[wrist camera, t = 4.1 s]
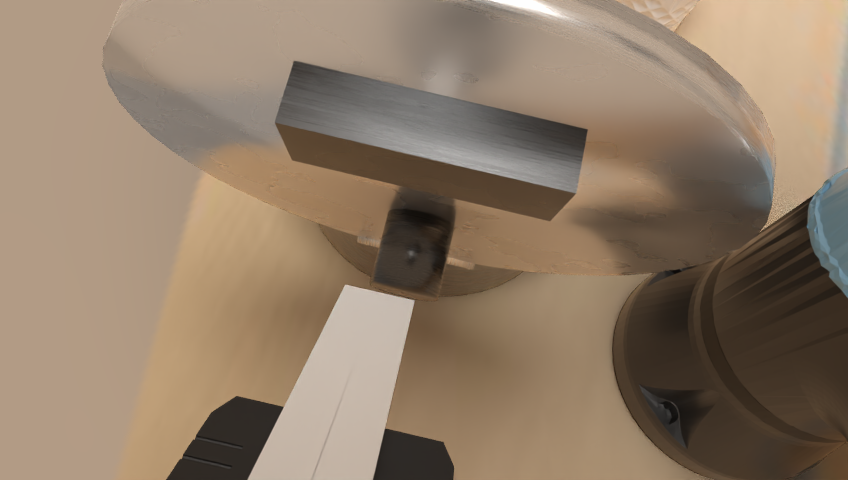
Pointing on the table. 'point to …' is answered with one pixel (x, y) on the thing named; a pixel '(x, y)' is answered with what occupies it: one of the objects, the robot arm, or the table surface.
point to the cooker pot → (454, 276)
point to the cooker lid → (458, 128)
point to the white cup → (662, 10)
